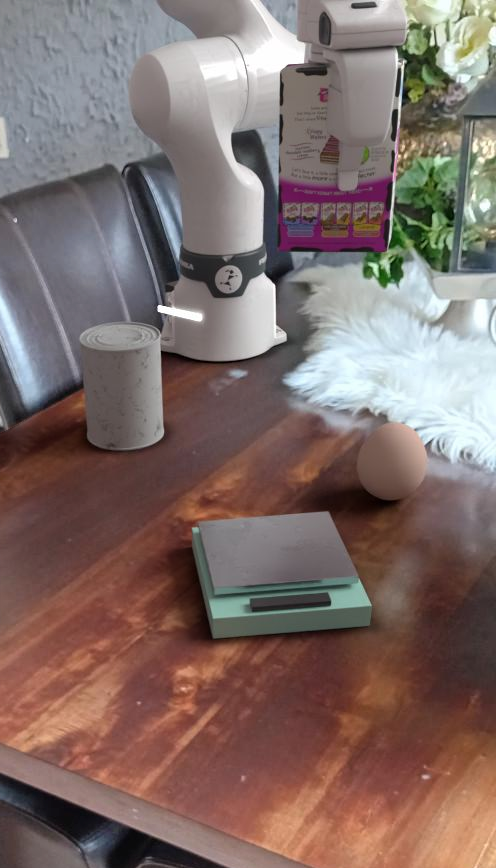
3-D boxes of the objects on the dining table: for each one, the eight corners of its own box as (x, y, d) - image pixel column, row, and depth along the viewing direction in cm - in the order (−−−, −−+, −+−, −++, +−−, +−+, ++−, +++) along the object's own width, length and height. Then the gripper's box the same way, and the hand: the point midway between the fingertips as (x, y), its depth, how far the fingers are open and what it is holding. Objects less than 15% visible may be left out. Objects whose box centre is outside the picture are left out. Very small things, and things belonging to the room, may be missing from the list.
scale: (192, 546, 101) (191, 522, 100) (329, 535, 102) (330, 511, 100) (212, 638, 88) (212, 612, 87) (369, 626, 89) (372, 599, 87)
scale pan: (197, 528, 99) (197, 521, 99) (328, 518, 99) (328, 510, 99) (213, 595, 89) (213, 587, 89) (358, 583, 90) (358, 576, 89)
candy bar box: (391, 240, 103) (407, 56, 93) (388, 254, 99) (404, 63, 89) (282, 239, 105) (287, 60, 96) (274, 252, 101) (279, 67, 92)
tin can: (116, 458, 118) (109, 356, 111) (72, 432, 125) (63, 335, 118) (179, 434, 123) (177, 335, 116) (133, 411, 129) (128, 316, 122)
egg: (429, 511, 105) (439, 437, 100) (360, 514, 105) (366, 440, 100) (414, 480, 110) (423, 408, 105) (349, 482, 111) (355, 411, 106)
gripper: (288, 11, 99) (284, 164, 107) (338, 27, 82) (328, 207, 90) (352, 7, 99) (343, 159, 107) (414, 22, 82) (398, 201, 90)
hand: (337, 181), depth 98 cm, fingers closed on candy bar box, 6 cm apart
